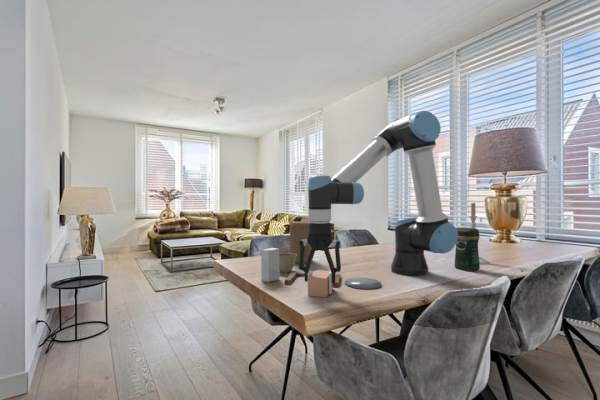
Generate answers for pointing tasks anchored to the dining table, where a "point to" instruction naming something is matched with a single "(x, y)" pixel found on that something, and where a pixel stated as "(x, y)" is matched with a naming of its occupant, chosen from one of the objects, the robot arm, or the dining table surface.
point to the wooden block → (296, 234)
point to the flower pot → (286, 261)
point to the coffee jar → (467, 249)
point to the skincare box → (269, 264)
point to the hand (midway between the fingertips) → (320, 291)
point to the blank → (319, 283)
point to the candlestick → (473, 225)
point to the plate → (362, 283)
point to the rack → (295, 274)
